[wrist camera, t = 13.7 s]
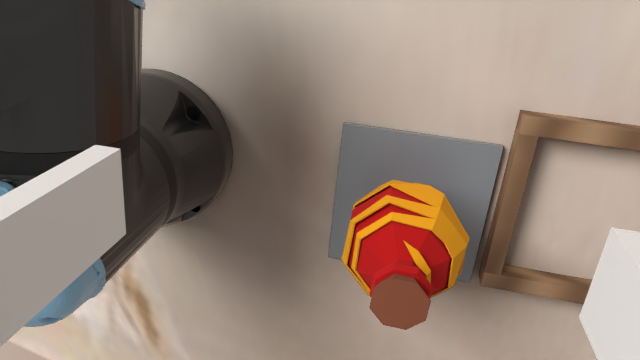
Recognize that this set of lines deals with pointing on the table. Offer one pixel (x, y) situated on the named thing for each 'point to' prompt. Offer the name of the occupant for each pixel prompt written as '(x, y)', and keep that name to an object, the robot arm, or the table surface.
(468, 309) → the table surface
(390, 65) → the table surface
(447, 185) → the coaster
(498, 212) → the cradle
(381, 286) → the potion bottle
